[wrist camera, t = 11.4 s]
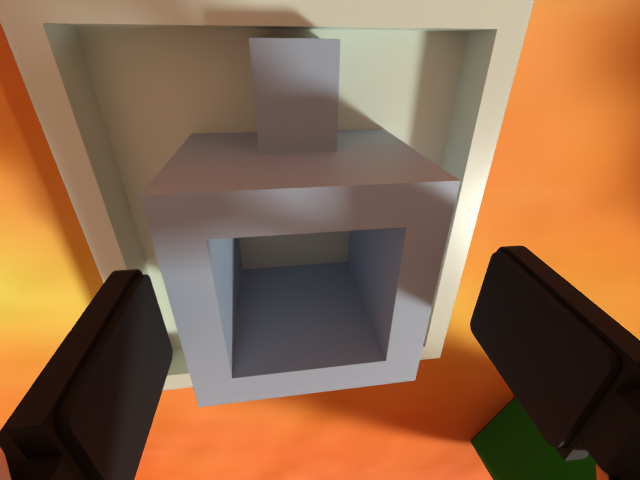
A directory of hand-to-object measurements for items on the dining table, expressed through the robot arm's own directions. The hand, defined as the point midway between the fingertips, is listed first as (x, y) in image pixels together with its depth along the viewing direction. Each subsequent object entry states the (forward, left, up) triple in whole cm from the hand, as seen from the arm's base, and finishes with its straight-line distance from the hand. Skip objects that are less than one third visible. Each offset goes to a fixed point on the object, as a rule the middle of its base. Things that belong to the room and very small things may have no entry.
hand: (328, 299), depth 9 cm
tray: (+1, 0, -7) cm, 7 cm away
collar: (+1, -1, -6) cm, 6 cm away
